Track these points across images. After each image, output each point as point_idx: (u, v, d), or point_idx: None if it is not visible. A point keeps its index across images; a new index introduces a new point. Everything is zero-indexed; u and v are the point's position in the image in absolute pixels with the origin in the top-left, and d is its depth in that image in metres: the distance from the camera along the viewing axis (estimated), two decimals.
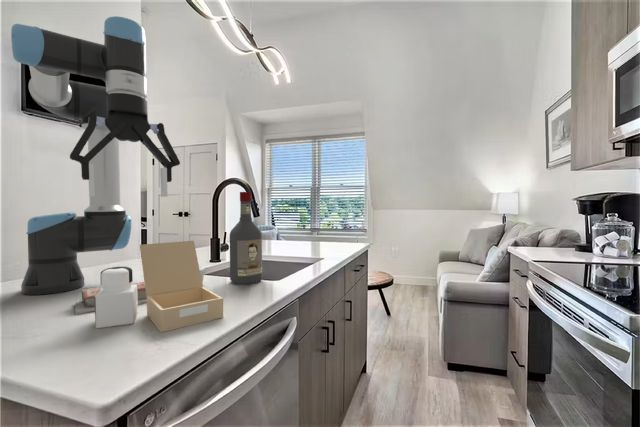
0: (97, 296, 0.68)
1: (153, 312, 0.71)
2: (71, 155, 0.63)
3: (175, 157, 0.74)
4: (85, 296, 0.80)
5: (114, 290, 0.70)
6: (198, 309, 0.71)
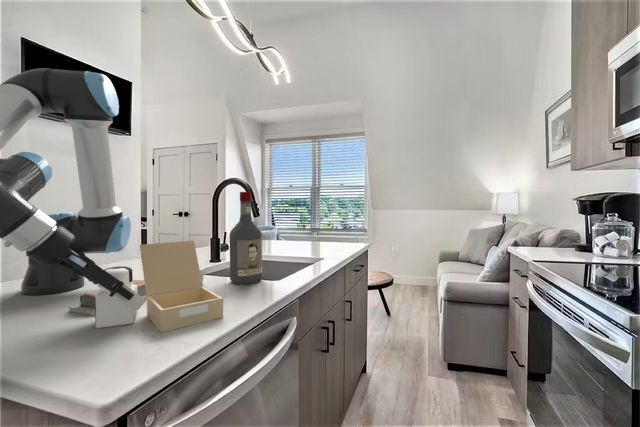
0: (97, 296, 0.68)
1: (153, 312, 0.71)
2: (89, 280, 0.75)
3: (107, 288, 0.64)
4: None
5: None
6: (198, 309, 0.71)
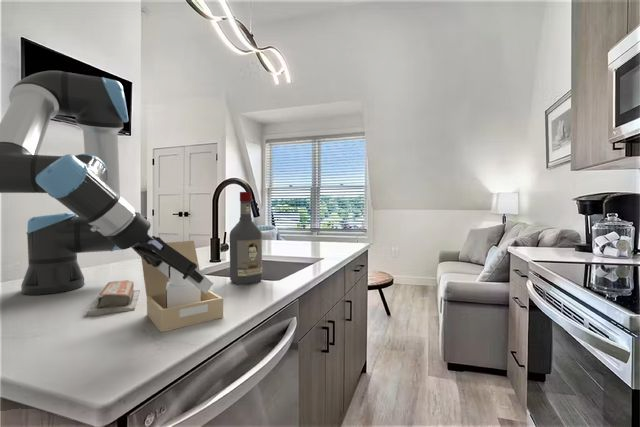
0: (168, 289, 0.71)
1: (153, 312, 0.71)
2: (147, 263, 0.78)
3: (182, 270, 0.66)
4: (126, 295, 0.81)
5: (182, 283, 0.73)
6: (198, 309, 0.71)
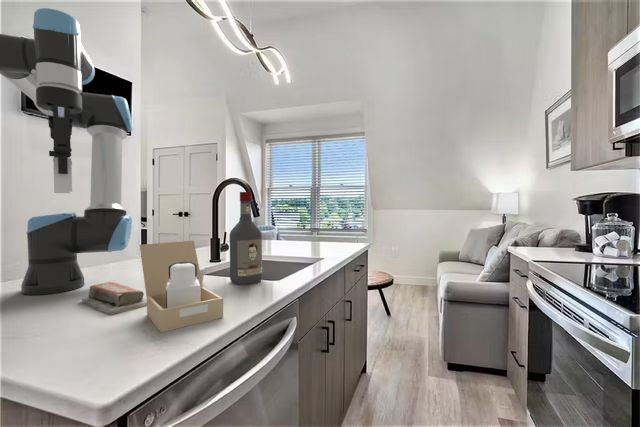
0: (168, 289, 0.71)
1: (153, 312, 0.71)
2: None
3: (54, 142, 0.60)
4: (140, 291, 0.84)
5: (183, 284, 0.73)
6: (198, 309, 0.71)
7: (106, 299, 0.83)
